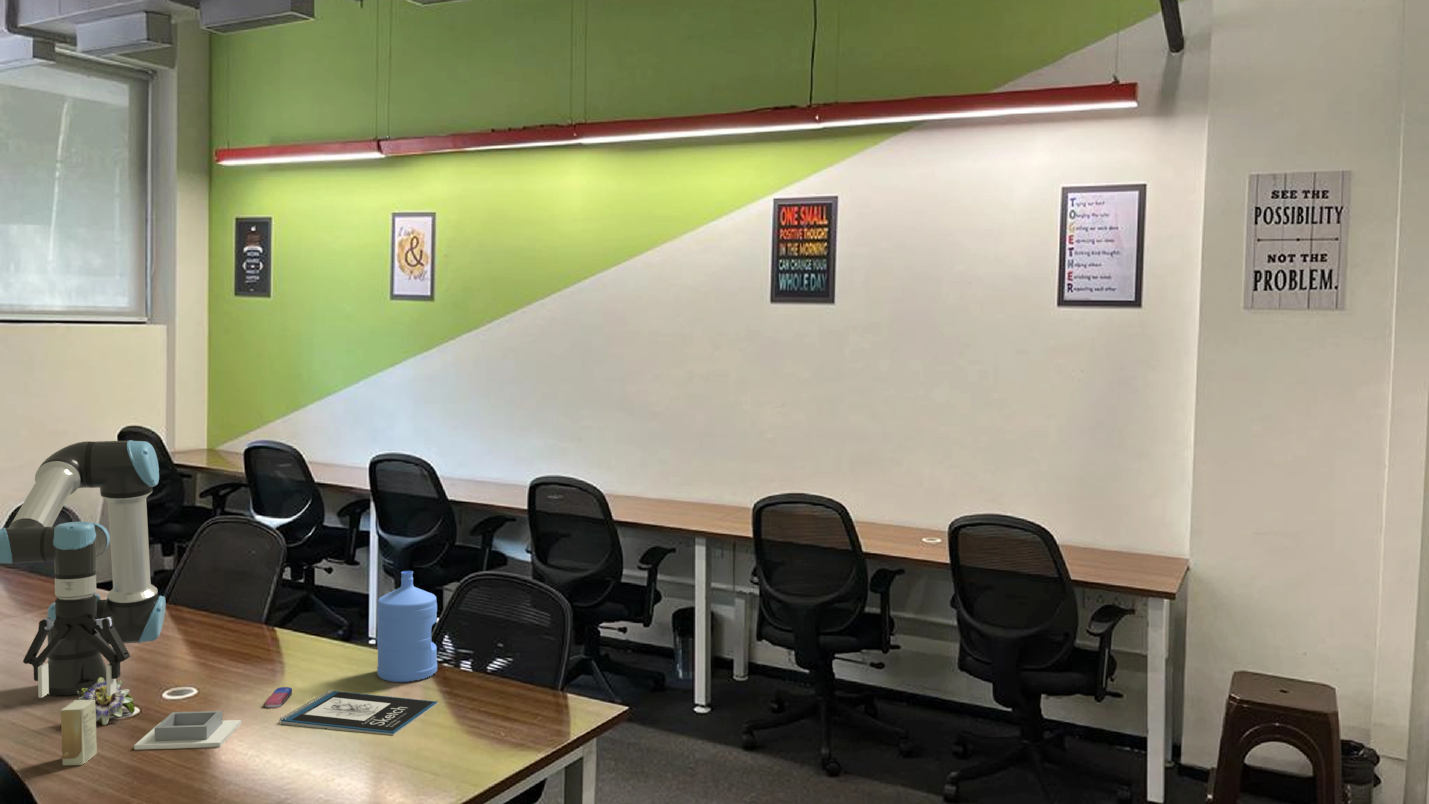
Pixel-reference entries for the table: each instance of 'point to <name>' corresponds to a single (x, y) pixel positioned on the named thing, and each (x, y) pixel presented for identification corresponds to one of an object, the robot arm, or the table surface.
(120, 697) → the passion flower
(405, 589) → the water jug
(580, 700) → the table surface
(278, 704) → the eraser
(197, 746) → the socket board
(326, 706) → the sketchbook
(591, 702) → the table surface
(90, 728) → the skincare box
